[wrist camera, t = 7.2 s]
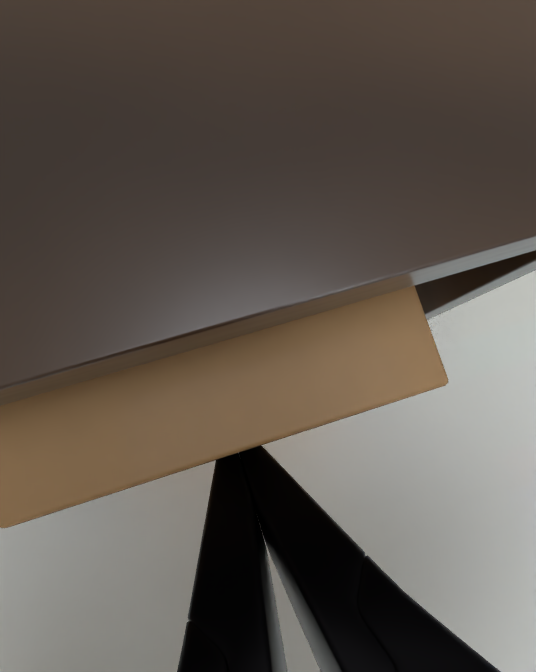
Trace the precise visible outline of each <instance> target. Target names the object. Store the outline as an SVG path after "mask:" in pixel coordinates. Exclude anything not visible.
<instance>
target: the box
mask: <svg viewBox="0 0 536 672" xmlns="http://www.w3.org/2000/svg"><path fill="white" fill-rule="evenodd" d="M447 383H448V378H447V375H446V372H445V369H444V367H443V364H442V361H441V358H440V355H439V353H438V350H437V347H436V344H435V342H434V339H433V336H432V333H431V330H430V328H429V325H428V322H427V319H426V317H425V314H424V311H423V308H422V305H421V303H420V300H419V297H418V294H417V291H416V289H415V286H411V287H407V288H404V289H401V290H397V291H394V292H390V293H387V294H383V295H380V296H376V297H373V298H370V299H366V300H363V301H359V302H356V303H352V304H349V305H345V306H342V307H339V308H335V309H332V310H328V311H325V312H321V313H318V314H315V315H311V316H308V317H304V318H301V319H297V320H294V321H290V322H287V323H284V324H280V325H277V326H273V327H270V328H266V329H263V330H259V331H256V332H253V333H249V334H246V335H242V336H239V337H235V338H232V339H229V340H225V341H222V342H218V343H215V344H211V345H208V346H204V347H201V348H198V349H194V350H191V351H187V352H184V353H180V354H177V355H173V356H170V357H167V358H163V359H160V360H156V361H153V362H149V363H146V364H143V365H139V366H136V367H132V368H129V369H125V370H122V371H118V372H115V373H112V374H108V375H105V376H101V377H98V378H94V379H91V380H87V381H84V382H81V383H77V384H74V385H70V386H67V387H63V388H60V389H56V390H53V391H50V392H46V393H43V394H39V395H36V396H32V397H29V398H26V399H22V400H19V401H15V402H12V403H8V404H5V405H1V406H0V528H8V527H11V526H14V525H17V524H20V523H23V522H26V521H29V520H32V519H35V518H39V517H42V516H45V515H48V514H51V513H54V512H57V511H60V510H63V509H66V508H69V507H72V506H76V505H79V504H82V503H85V502H88V501H91V500H94V499H97V498H100V497H103V496H106V495H109V494H112V493H116V492H119V491H122V490H125V489H128V488H131V487H134V486H137V485H140V484H143V483H146V482H149V481H153V480H156V479H159V478H162V477H165V476H168V475H171V474H174V473H177V472H180V471H183V470H186V469H189V468H193V467H196V466H199V465H202V464H205V463H208V462H211V461H214V460H217V459H220V458H223V457H226V456H230V455H233V454H236V453H239V452H242V451H245V450H248V449H251V448H254V447H257V446H260V445H263V444H266V443H270V442H273V441H276V440H279V439H282V438H285V437H288V436H291V435H294V434H297V433H300V432H303V431H307V430H310V429H313V428H316V427H319V426H322V425H325V424H328V423H331V422H334V421H337V420H340V419H344V418H347V417H350V416H353V415H356V414H359V413H362V412H365V411H368V410H371V409H374V408H377V407H380V406H384V405H387V404H390V403H393V402H396V401H399V400H402V399H405V398H408V397H411V396H414V395H417V394H421V393H424V392H427V391H430V390H433V389H436V388H439V387H442V386H445V385H446V384H447Z"/></svg>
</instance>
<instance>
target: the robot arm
mask: <svg viewBox="0 0 536 672" xmlns="http://www.w3.org/2000/svg"><path fill="white" fill-rule="evenodd" d="M257 516H258V517H257ZM259 523H260V524H259ZM260 526H261V527H260ZM261 530H262V531H261ZM262 533H263V534H262ZM263 536H264V538H263ZM264 539H265V542H266V545H267V548H268V551H269V553H270V556H271V558H272V560H273V563H274V565H275V567H276V569H277V572H278V574H279V576H280V579H281V581H282V583H283V586H284V588H285V590H286V593H287V595H288V597H289V599H290V602H291V604H292V606H293V609H294V611H295V613H296V616H297V618H298V620H299V622H300V625H301V627H302V629H303V632H304V634H305V636H306V639H307V641H308V643H309V645H310V648H311V650H312V652H313V655H314V657H315V659H316V662H317V664H318V666H319V668H320V671H321V672H500V671H499V670H498V669H497V668H495V667H494V666H493V665H491V664H490V663H489V662H488V661H486V660H485V659H484V658H483V657H482V656H480V655H479V654H478V653H477V652H476V651H474V650H473V649H472V648H471V647H469V646H468V645H467V644H466V643H465V642H463V641H462V640H461V639H460V638H459V637H457V636H456V635H455V634H454V633H452V632H451V631H450V630H449V629H448V628H446V627H445V626H444V625H443V624H442V623H440V622H439V621H438V620H437V619H435V618H434V617H433V616H432V615H431V614H429V613H428V612H427V611H426V610H425V609H424V608H422V607H421V606H420V605H419V604H418V603H417V602H416V601H414V600H413V599H412V598H411V597H410V596H409V595H408V594H406V593H405V592H404V591H403V590H402V589H401V588H400V587H399V586H398V585H397V584H396V583H395V582H394V581H393V580H392V579H391V578H390V577H389V576H388V575H387V574H386V573H384V572H383V571H382V570H381V569H380V567H379V566H378V565H377V564H376V563H375V562H374V561H373V560H372V559H371V558H370V557H369V556H365V552H364V551H363V550H362V549H361V548H360V547H359V546H358V545H357V544H356V543H355V542H354V541H353V540H352V539H351V538H350V537H349V536H348V535H347V534H346V533H345V532H344V531H343V529H342V528H341V527H340V526H339V525H338V524H337V523H336V522H335V521H334V520H333V519H332V518H331V517H330V516H329V515H328V514H327V513H326V512H325V511H324V510H323V509H322V508H321V507H320V506H319V505H318V504H317V503H316V502H315V500H314V499H313V498H312V497H311V496H310V495H309V494H308V493H307V492H306V491H305V490H304V489H303V488H302V487H301V486H300V485H299V484H298V483H297V482H296V481H295V480H294V479H293V478H292V477H291V476H290V475H289V474H288V473H287V471H286V470H285V469H284V468H283V467H282V466H281V465H280V464H279V463H278V462H277V461H276V460H275V459H274V458H273V457H272V456H271V455H270V454H269V453H268V452H267V451H266V450H265V449H264V448H263V447H262V446H261V445H260V446H257V447H254V448H251V449H248V450H245V451H242V452H239V453H236V454H233V455H230V456H226V457H223V458H220V459H217V460H216V463H215V469H214V474H213V480H212V485H211V491H210V497H209V502H208V508H207V513H206V519H205V525H204V530H203V536H202V541H201V547H200V553H199V558H198V564H197V569H196V575H195V581H194V586H193V592H192V597H191V603H190V609H189V614H188V619H189V621H188V622H187V624H186V630H185V635H184V641H183V646H182V651H181V656H180V661H179V665H178V670H177V672H287V666H286V660H285V654H284V648H283V642H282V637H281V631H280V625H279V619H278V613H277V607H276V601H275V595H274V590H273V584H272V578H271V572H270V566H269V560H268V555H267V550H266V545H265V542H264Z"/></svg>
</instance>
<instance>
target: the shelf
mask: <svg viewBox="0 0 536 672" xmlns="http://www.w3.org/2000/svg"><path fill="white" fill-rule="evenodd" d="M534 270H536V0H0V406H1V405H5V404H8V403H12V402H15V401H19V400H22V399H26V398H29V397H32V396H36V395H39V394H43V393H46V392H50V391H53V390H56V389H60V388H63V387H67V386H70V385H74V384H77V383H81V382H84V381H87V380H91V379H94V378H98V377H101V376H105V375H108V374H112V373H115V372H118V371H122V370H125V369H129V368H132V367H136V366H139V365H143V364H146V363H149V362H153V361H156V360H160V359H163V358H167V357H170V356H173V355H177V354H180V353H184V352H187V351H191V350H194V349H198V348H201V347H204V346H208V345H211V344H215V343H218V342H222V341H225V340H229V339H232V338H235V337H239V336H242V335H246V334H249V333H253V332H256V331H259V330H263V329H266V328H270V327H273V326H277V325H280V324H284V323H287V322H290V321H294V320H297V319H301V318H304V317H308V316H311V315H315V314H318V313H321V312H325V311H328V310H332V309H335V308H339V307H342V306H345V305H349V304H352V303H356V302H359V301H363V300H366V299H370V298H373V297H376V296H380V295H383V294H387V293H390V292H394V291H397V290H401V289H404V288H407V287H411V286H415V289H416V291H417V294H418V297H419V300H420V303H421V305H422V308H423V311H424V314H425V317H426V319H427V320H428V319H430V318H432V317H434V316H437V315H439V314H441V313H443V312H445V311H447V310H450V309H452V308H454V307H456V306H458V305H460V304H463V303H465V302H467V301H469V300H471V299H474V298H476V297H478V296H480V295H482V294H484V293H487V292H489V291H491V290H493V289H495V288H497V287H500V286H502V285H504V284H506V283H508V282H511V281H513V280H515V279H517V278H519V277H521V276H524V275H526V274H528V273H530V272H532V271H534Z"/></svg>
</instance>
